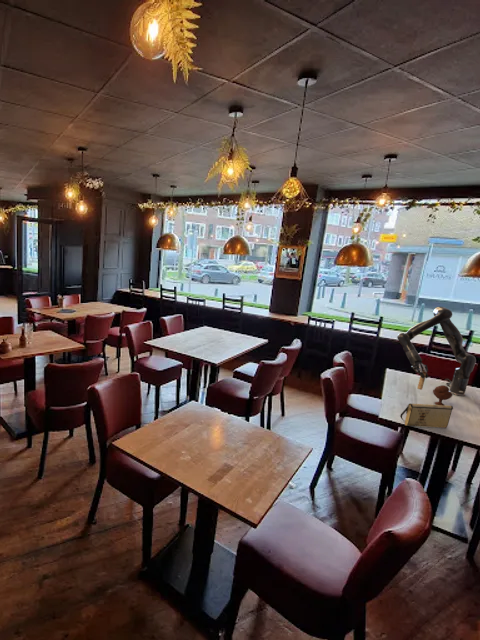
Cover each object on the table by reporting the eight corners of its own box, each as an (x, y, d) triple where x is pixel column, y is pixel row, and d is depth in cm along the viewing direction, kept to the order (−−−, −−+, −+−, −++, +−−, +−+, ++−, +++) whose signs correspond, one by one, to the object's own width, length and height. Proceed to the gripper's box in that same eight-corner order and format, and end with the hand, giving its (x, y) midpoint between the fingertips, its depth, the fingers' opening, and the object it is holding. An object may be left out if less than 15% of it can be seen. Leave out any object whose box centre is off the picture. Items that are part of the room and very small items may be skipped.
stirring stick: (418, 387, 260) (422, 370, 257) (422, 389, 257) (427, 371, 254) (416, 388, 258) (420, 371, 255) (421, 390, 256) (425, 372, 253)
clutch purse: (440, 423, 217) (446, 401, 214) (449, 429, 210) (456, 406, 207) (395, 421, 215) (400, 399, 212) (403, 426, 209) (409, 404, 205)
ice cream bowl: (453, 408, 241) (458, 388, 238) (437, 407, 241) (442, 387, 238) (441, 401, 251) (446, 382, 248) (426, 400, 252) (431, 381, 248)
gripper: (410, 354, 257) (422, 376, 249) (424, 354, 261) (437, 375, 253) (402, 359, 264) (414, 380, 255) (416, 358, 267) (428, 379, 259)
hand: (425, 377), depth 254 cm, fingers closed on stirring stick, 3 cm apart
